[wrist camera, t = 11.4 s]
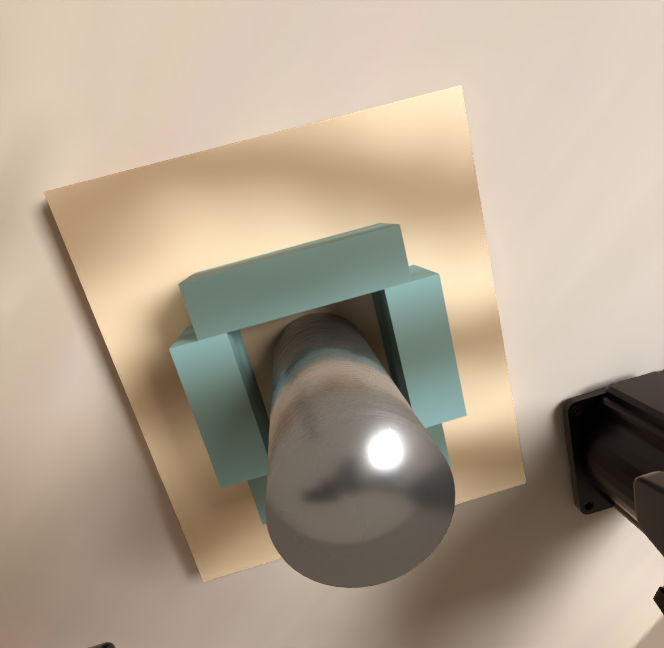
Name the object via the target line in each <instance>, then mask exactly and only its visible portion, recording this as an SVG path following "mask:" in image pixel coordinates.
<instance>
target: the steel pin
mask: <svg viewBox="0 0 664 648" xmlns="http://www.w3.org/2000/svg"><path fill="white" fill-rule="evenodd" d="M454 506H455V484H454V478H453V475H452V472H451V469H450V466H449V464H448V462H447V460H446V458H445V457H444V455H443V454H442V452H441V451H440V449H439V448H438V446H437V445H436V443H435V442H434V441H433V439H432V438H431V436H430V435H429V433H428V432H427V430H426V429H425V427H424V426H423V424H422V423H421V421H420V420H419V419H418V417H417V416H416V414H415V413H414V411H413V410H412V408H411V407H410V405H409V404H408V402H407V401H406V399H405V398H404V397H403V395H402V394H401V392H400V391H399V389H398V388H397V386H396V385H395V383H394V382H393V380H392V379H391V377H390V376H389V374H388V373H387V372H386V370H385V369H384V367H383V366H382V364H381V363H380V361H379V360H378V358H377V357H376V355H375V354H374V352H373V351H372V350H371V348H370V347H369V345H368V344H367V342H366V341H365V339H364V338H363V336H362V335H361V333H360V332H359V330H358V329H357V328H356V327H355V326H354V325H353V324H352V323H351V322H350V321H348V320H346V319H345V318H343V317H341V316H339V315H335V314H332V313H324V312H318V313H311V314H307V315H304V316H302V317H300V318H298V319H296V320H294V321H293V322H291V323H290V324H289V325H288V326H287V327H286V328H285V329H284V330H283V331H282V333H281V334H280V336H279V337H278V339H277V341H276V344H275V347H274V352H273V366H272V386H271V406H270V426H269V446H268V466H267V485H266V506H265V517H266V525H267V529H268V533H269V536H270V538H271V540H272V543H273V545H274V547H275V548H276V550H277V551H278V553H279V555H280V556H281V557H282V558H283V559H284V560H285V561H286V563H288V564H289V565H290V566H291V567H292V568H293V569H294V570H296V571H297V572H299V573H300V574H302V575H303V576H305V577H307V578H309V579H311V580H314V581H316V582H319V583H322V584H325V585H330V586H335V587H345V588H359V587H367V586H373V585H377V584H381V583H385V582H387V581H390V580H393V579H395V578H397V577H399V576H401V575H403V574H405V573H407V572H409V571H410V570H412V569H413V568H415V567H416V566H417V565H419V564H420V563H421V562H422V561H424V560H425V559H426V558H427V557H428V556H429V555H430V554H431V553H432V552H433V551H434V549H435V548H436V547H437V546H438V544H439V543H440V542H441V540H442V538H443V537H444V535H445V533H446V531H447V529H448V527H449V525H450V522H451V519H452V515H453V512H454Z"/></svg>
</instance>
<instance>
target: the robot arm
mask: <svg viewBox="0 0 664 648" xmlns="http://www.w3.org/2000/svg"><path fill="white" fill-rule="evenodd" d="M576 406H577V409H576V410H575V411H574V412H573V409H574V408H575V407H576ZM563 416H564V423H565V431H566V439H567V446H568V454H569V462H570V469H571V477H572V484H573V492H574V500H575V505H576V507H577V508H578V509H579V510H580V511H581V512H582V513H583V514H592V513H595V512H598V511H601V510H604V509H608V508H611V507H614V508H615V509H617V510H618V511H619V512H620V513H621V514H622V515H623V516H625V517H626V518H627V519H628V520H629V521H630V522H631V523H633V524H634V525H635V526H636V527H637V528H638V529H640V530H641V531H642V532H643V533H644V534H645V535H646V536H647V537H648V538H649V540H650V541H651V542H652V543H653V544H654V546H655V547H656V548H657V549H658V550H659V552H660V553H661V554H662V555H663V556H664V371H661V372H652V373H648V374H645V375H642V376H638V377H635V378H632V379H628V380H625V381H621V382H618V383H615V384H611V385H609V386H608V387H607V388H604V389H601V390H597V391H594V392H591V393H587V394H584V395H580V396H577V397H574V398H571V399H569V400H567V401H566V402H565V403H564V406H563ZM587 502H588V503H587ZM586 503H587V504H586ZM585 504H586V505H585ZM653 599H654V601H655V602H656V604H657V605H658V607H659V608H660V610H661V611H662V613H663V614H664V586H663V587H659V589H658V590H657V592H656V594H655V596H654V598H653ZM89 648H116V647H115V646H114V645H113V644H112V643H110V642H105V643H102V644H99V645H96V646H92V647H89Z"/></svg>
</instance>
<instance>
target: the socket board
mask: <svg viewBox="0 0 664 648" xmlns="http://www.w3.org/2000/svg"><path fill="white" fill-rule="evenodd" d="M44 194H45V197H46V199H47V201H48V204H49V206H50V209H51V211H52V214H53V216H54V219H55V221H56V223H57V226H58V228H59V231H60V233H61V236H62V238H63V240H64V243H65V245H66V248H67V250H68V253H69V255H70V258H71V260H72V262H73V265H74V267H75V270H76V272H77V275H78V277H79V280H80V282H81V284H82V287H83V289H84V292H85V294H86V297H87V299H88V302H89V304H90V306H91V309H92V311H93V314H94V316H95V319H96V321H97V323H98V326H99V328H100V331H101V333H102V336H103V338H104V341H105V343H106V345H107V348H108V350H109V353H110V355H111V358H112V360H113V363H114V365H115V367H116V370H117V372H118V375H119V377H120V380H121V382H122V384H123V387H124V389H125V392H126V394H127V397H128V399H129V402H130V404H131V406H132V409H133V411H134V414H135V416H136V419H137V421H138V424H139V426H140V428H141V431H142V433H143V436H144V438H145V441H146V443H147V445H148V448H149V450H150V453H151V455H152V458H153V460H154V463H155V465H156V467H157V470H158V472H159V475H160V477H161V480H162V482H163V485H164V487H165V489H166V492H167V494H168V497H169V499H170V502H171V504H172V506H173V509H174V511H175V514H176V516H177V519H178V521H179V524H180V526H181V528H182V531H183V533H184V536H185V538H186V541H187V543H188V546H189V548H190V550H191V553H192V555H193V558H194V560H195V563H196V565H197V567H198V570H199V572H200V575H201V577H202V580H203V582H205V581H208V580H212V579H215V578H218V577H222V576H225V575H228V574H231V573H235V572H238V571H241V570H244V569H248V568H251V567H254V566H258V565H261V564H264V563H267V562H271V561H274V560H277V559H280V558H282V557H281V556H280V555H279V553H278V551H277V550H276V548H275V547H274V545H273V543H272V540H271V538H270V536H269V533H268V529H267V525H266V517H265V506H266V485H267V466H268V446H269V426H270V406H271V386H272V366H273V352H274V347H275V344H276V341H277V339H278V337H279V336H280V334H281V333H282V331H283V330H284V329H285V328H286V327H287V326H288V325H289V324H290V323H291V322H293V321H294V320H296V319H298V318H300V317H302V316H304V315H307V314H311V313H318V312H324V313H332V314H335V315H339V316H341V317H343V318H345V319H346V320H348V321H350V322H351V323H352V324H353V325H354V326H355V327H356V328H357V329H358V330H359V332H360V333H361V335H362V336H363V338H364V339H365V341H366V342H367V344H368V345H369V347H370V348H371V350H372V351H373V352H374V354H375V355H376V357H377V358H378V360H379V361H380V363H381V364H382V366H383V367H384V369H385V370H386V372H387V373H388V374H389V376H390V377H391V379H392V380H393V382H394V383H395V385H396V386H397V388H398V389H399V391H400V392H401V394H402V395H403V397H404V398H405V399H406V401H407V402H408V404H409V405H410V407H411V408H412V410H413V411H414V413H415V414H416V416H417V417H418V419H419V420H420V421H421V423H422V424H423V426H424V427H425V429H426V430H427V432H428V433H429V435H430V436H431V438H432V439H433V441H434V442H435V443H436V445H437V446H438V448H439V449H440V451H441V452H442V454H443V455H444V457H445V458H446V460H447V462H448V464H449V466H450V469H451V472H452V475H453V478H454V484H455V505H457V504H460V503H464V502H467V501H470V500H473V499H477V498H480V497H483V496H487V495H490V494H493V493H496V492H500V491H503V490H506V489H509V488H513V487H516V486H519V485H523V484H526V478H525V472H524V466H523V460H522V454H521V448H520V442H519V435H518V429H517V423H516V417H515V411H514V405H513V399H512V393H511V386H510V380H509V374H508V368H507V362H506V356H505V350H504V343H503V337H502V331H501V325H500V319H499V313H498V307H497V300H496V294H495V288H494V282H493V276H492V270H491V264H490V257H489V251H488V245H487V239H486V233H485V227H484V221H483V214H482V208H481V202H480V196H479V190H478V184H477V178H476V171H475V165H474V159H473V153H472V147H471V141H470V135H469V128H468V122H467V116H466V110H465V104H464V98H463V92H462V85H459V86H455V87H451V88H447V89H443V90H439V91H435V92H431V93H427V94H424V95H420V96H416V97H412V98H408V99H404V100H400V101H396V102H392V103H388V104H385V105H381V106H377V107H373V108H369V109H365V110H361V111H357V112H353V113H349V114H346V115H342V116H338V117H334V118H330V119H326V120H322V121H318V122H314V123H310V124H307V125H303V126H299V127H295V128H291V129H287V130H283V131H279V132H275V133H271V134H268V135H264V136H260V137H256V138H252V139H248V140H244V141H240V142H236V143H232V144H229V145H225V146H221V147H217V148H213V149H209V150H205V151H201V152H197V153H193V154H190V155H186V156H182V157H178V158H174V159H170V160H166V161H162V162H158V163H155V164H151V165H147V166H143V167H139V168H135V169H131V170H127V171H123V172H119V173H116V174H112V175H108V176H104V177H100V178H96V179H92V180H88V181H84V182H80V183H77V184H73V185H69V186H65V187H61V188H57V189H53V190H49V191H45V192H44Z"/></svg>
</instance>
